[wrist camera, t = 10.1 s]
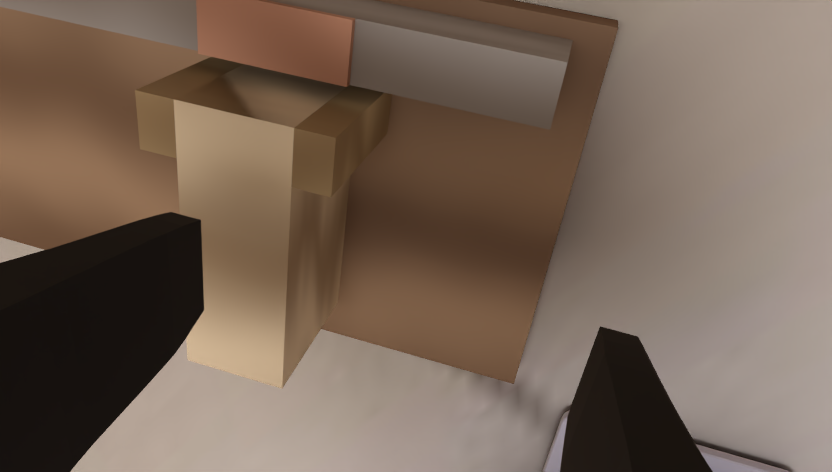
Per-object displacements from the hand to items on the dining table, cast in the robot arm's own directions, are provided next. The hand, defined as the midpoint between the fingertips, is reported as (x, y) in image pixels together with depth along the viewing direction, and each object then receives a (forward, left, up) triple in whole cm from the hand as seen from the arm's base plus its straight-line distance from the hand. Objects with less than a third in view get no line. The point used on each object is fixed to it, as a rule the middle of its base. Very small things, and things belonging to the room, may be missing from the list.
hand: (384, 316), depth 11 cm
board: (-2, +11, -9) cm, 15 cm away
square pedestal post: (-3, +5, -8) cm, 10 cm away
